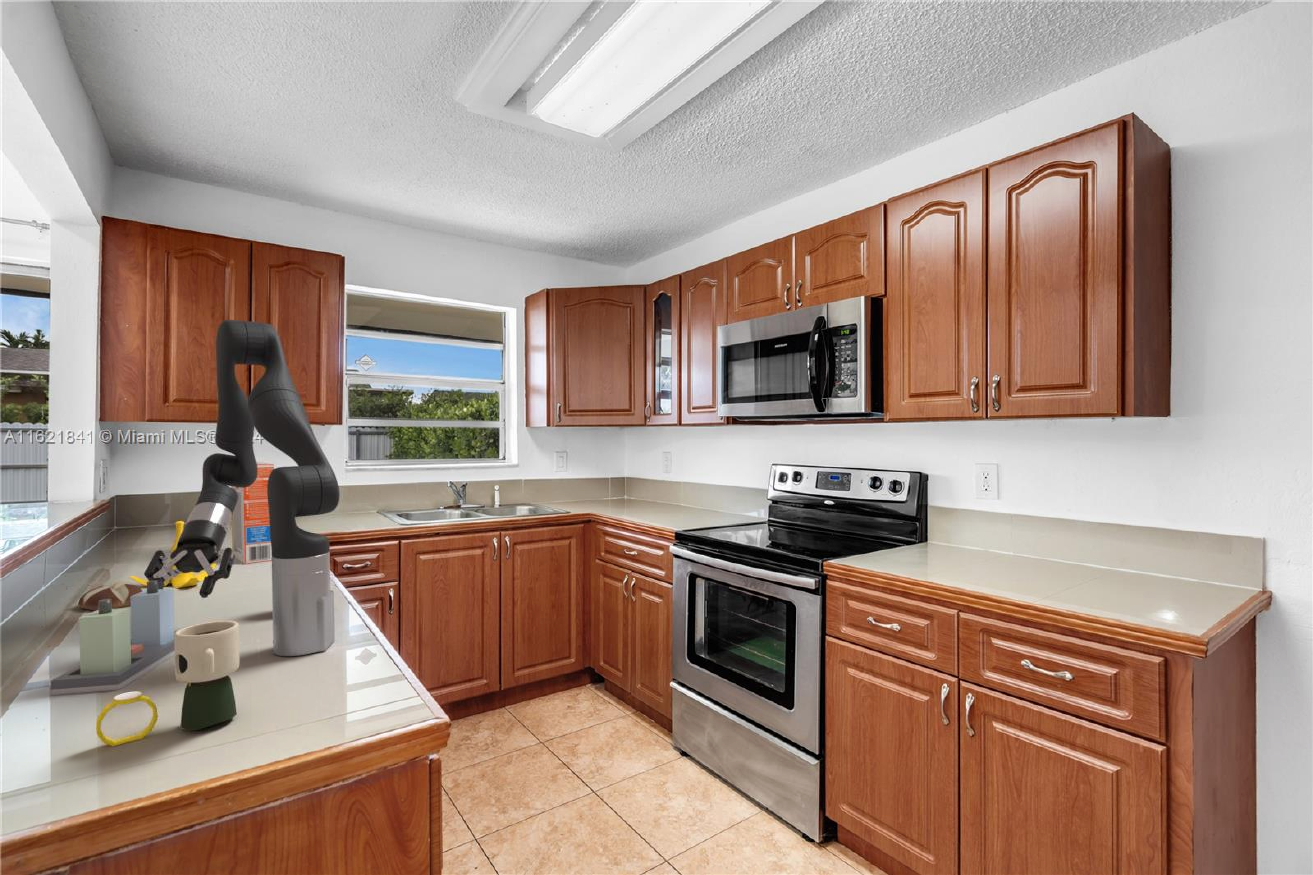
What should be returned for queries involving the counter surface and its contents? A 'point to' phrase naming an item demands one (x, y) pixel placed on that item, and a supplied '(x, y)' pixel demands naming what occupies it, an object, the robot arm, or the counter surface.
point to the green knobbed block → (105, 639)
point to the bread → (110, 595)
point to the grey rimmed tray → (140, 664)
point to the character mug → (207, 672)
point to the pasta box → (253, 520)
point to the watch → (122, 700)
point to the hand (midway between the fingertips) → (178, 597)
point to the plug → (152, 616)
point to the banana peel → (182, 578)
